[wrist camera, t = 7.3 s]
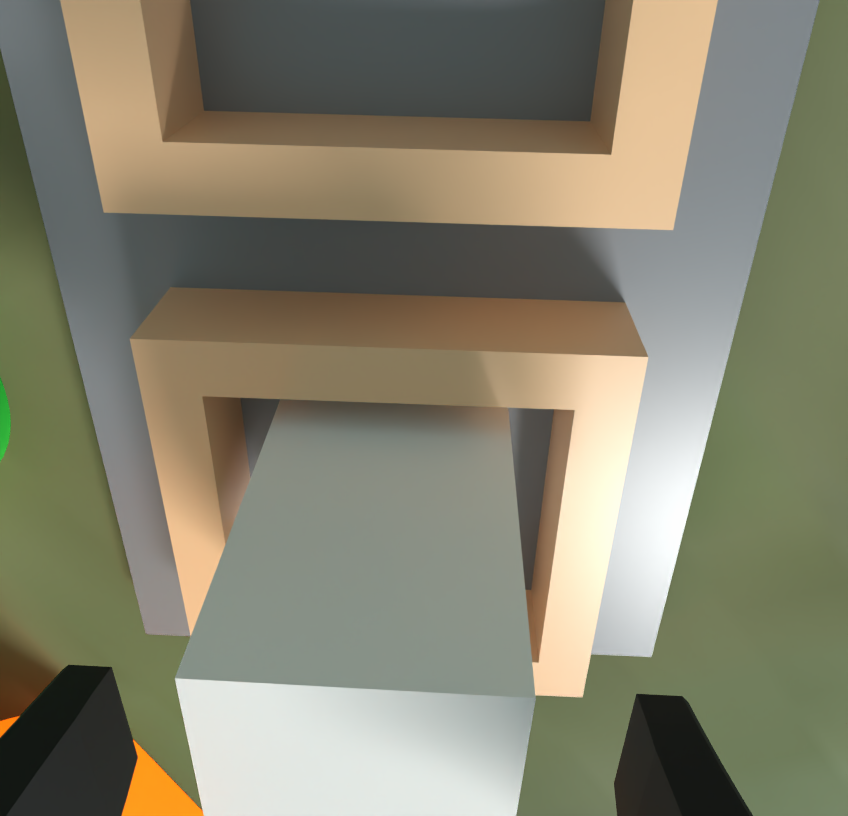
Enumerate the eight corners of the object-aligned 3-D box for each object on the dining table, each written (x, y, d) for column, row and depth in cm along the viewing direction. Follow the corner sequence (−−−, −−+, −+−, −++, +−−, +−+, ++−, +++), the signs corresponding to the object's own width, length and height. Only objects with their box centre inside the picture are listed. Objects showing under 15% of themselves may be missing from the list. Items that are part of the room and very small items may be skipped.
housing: (949, -655, 9) (1156, -898, 6) (643, 624, 19) (670, 731, 17) (-128, -657, 9) (-367, -889, 6) (159, 603, 19) (114, 705, 17)
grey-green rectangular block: (505, 380, 14) (535, 697, 9) (489, 541, 17) (504, 886, 11) (291, 369, 15) (174, 678, 9) (302, 532, 17) (215, 868, 11)
